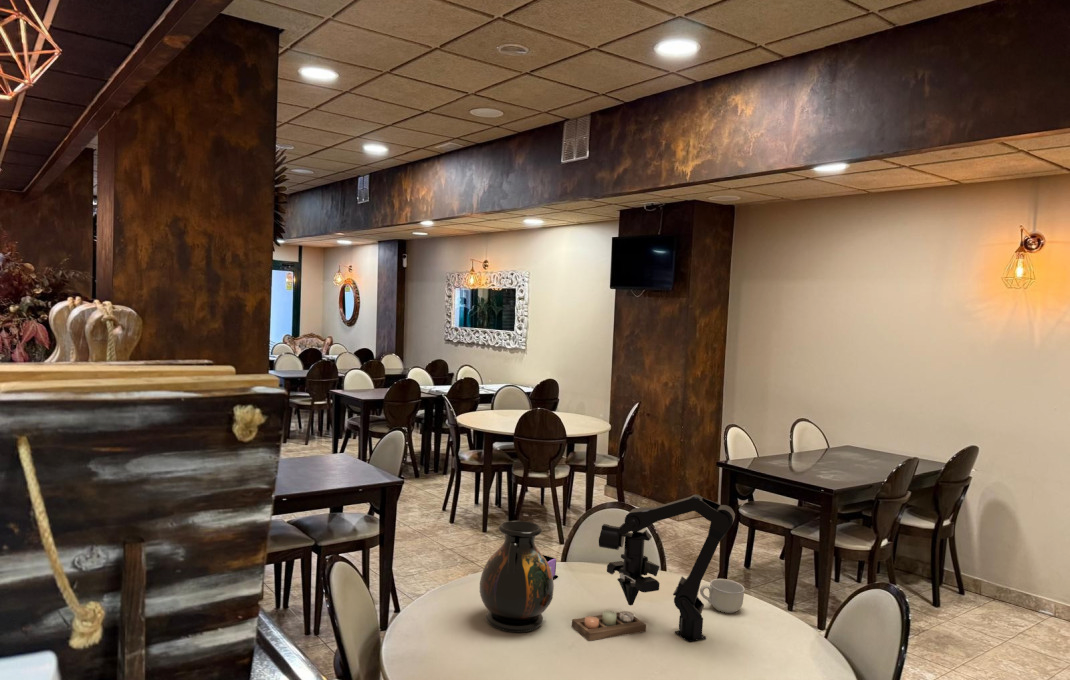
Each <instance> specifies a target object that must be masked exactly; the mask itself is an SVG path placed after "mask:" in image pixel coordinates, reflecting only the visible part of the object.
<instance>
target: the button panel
mask: <svg viewBox="0 0 1070 680" xmlns="http://www.w3.org/2000/svg"><path fill="white" fill-rule="evenodd" d="M620 612H621V611H618V612H616V613H617V617H616V625H613V626H605V625H604V624H602V617H603V614H599V615H592V616H593V617H596V618H598V619H599V626H598V628H595V629H587V628H586V627H585V626H584V624H585V617H580V618H579V617H578V618H574V619H571V628H573V629H574V630H576V631H577V632H578V633H579V634H580V635H582V636H583V637H585V638H586V639H587V640H588V641H589V642H590V641H596V640H603V639H608V638H615V637H620V636H626V635H627V636H628V635H632V634H637V633H643V632H644V633H645V632H646V630H647V624H646V623H645V622H643V621H641V620H640V619H639V618H638V617H636V616H633V622H632V623H626V624H624V623H622V622H621V621H619V619H620Z"/></svg>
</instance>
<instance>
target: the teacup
mask: <svg viewBox="0 0 1070 680" xmlns="http://www.w3.org/2000/svg"><path fill="white" fill-rule="evenodd" d="M709 584H710V585H708V584H703V585H702V586H700V588H699V593H700V595H701V597H702V598H703V599H704V600H706V601H707V602H708V603H709V604H710V605H711V606H713V608H714V609H715V610H716V611H718V612H720V611H721V613H724V612H725V613H726V614H733V613H736V612H737V611H739V610H741V608H743V607H742V606H743V604H744V603H743V602H744V596H745V591H746V589H745V587H744V585H742V584H741V583H740V582H737V581H735V580H731V579H726V578H715V579H712V580H710V582H709ZM706 589H707V590H708V593H709V594H708V596H709V597H708V596H707V595H705V593H704V591H705V590H706ZM725 613H724V614H725Z"/></svg>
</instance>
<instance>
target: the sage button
mask: <svg viewBox="0 0 1070 680" xmlns="http://www.w3.org/2000/svg"><path fill="white" fill-rule="evenodd" d="M617 613H618V612H616V611H613V610H604V611H602V615H603V617H602V624H604V625H605V626H606V627H607V626H613V625H616V617H617Z"/></svg>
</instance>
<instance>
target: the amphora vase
mask: <svg viewBox="0 0 1070 680" xmlns="http://www.w3.org/2000/svg"><path fill="white" fill-rule="evenodd" d="M497 529H498V531H499V532H500V533H501V534H503V535H504V541H503V543H502V545H501V546H499V548H498V549H497V550H496V551H495V552H494V553H492V555H491V556H490V557H489V558H488V559H487V562H486V563H485V566H484V567H483V570H482V573H481V576H480V581H479V594H480V595H479V596H480V597H481V601H482V603H483V605H484V606H485V608H486V609H487V610H488V611H487V613H486V615H485V616H486V620H487V622H488V623H489V624H490V626H492V627H494V628H495V629H498V630H500V631H504V632H509V633H526V632H530V631H533V630H536V629H538V628H539V627H540V626H541V625H542V624H543V621H544V616H543V613H545V611H546V610H547V609H548V607H549V606H550V605H551V603H552V601H553V599H554V597H553V596H554V589H555V588H554V587H555V584H554V580H553V575H552V572H551V569H550V566H549V564H548V562H547V561H546V559H545V558H544V557H543V555H544V554H542V553H541V552H540V550H539V549H538V548H537V545H536V543H535V542H536V541H535V540H536V536H539V535H541V534H542V533H543V527H542V526H541V525H540V524H538V523H536V522H531V521H527V520H526V521H525V520H507V521H504V522H501V523H500V524H499V525H498V527H497Z"/></svg>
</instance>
